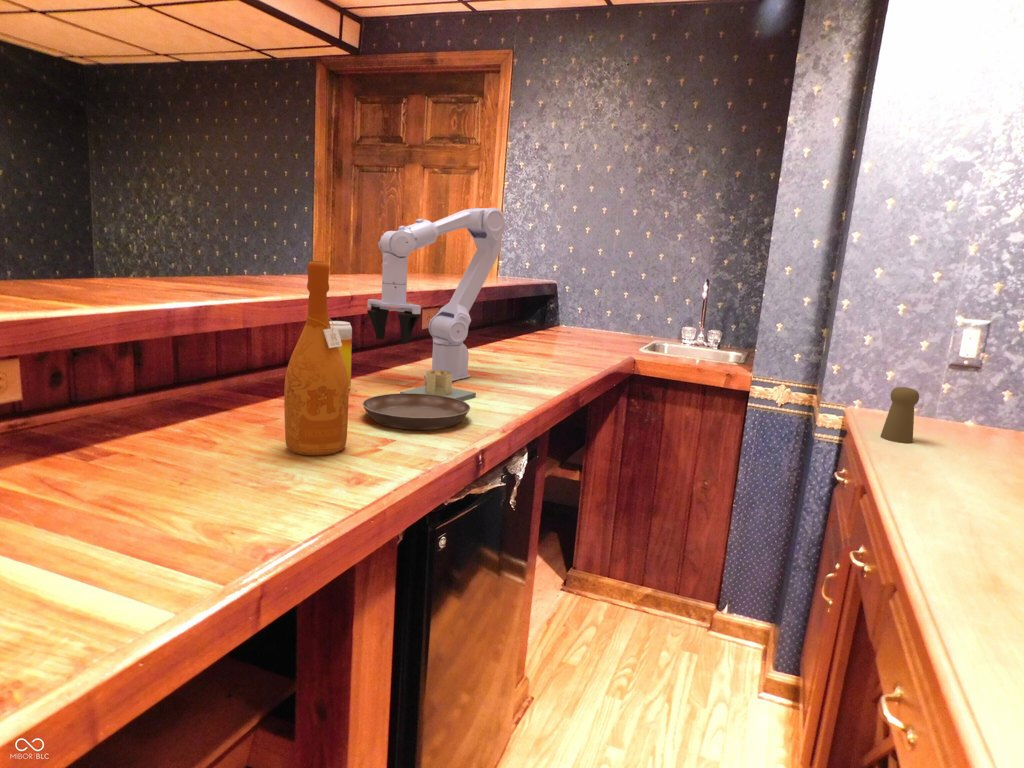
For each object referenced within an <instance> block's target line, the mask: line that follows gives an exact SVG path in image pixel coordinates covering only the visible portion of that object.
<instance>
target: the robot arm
mask: <svg viewBox="0 0 1024 768" xmlns="http://www.w3.org/2000/svg"><path fill="white" fill-rule="evenodd" d="M506 228H507V222H506V219H505V216H504V213H503V212H502V210H501V209H499V208H498V207H490V208H489V207H488V208H485V207H481V208H480V207H472V208H468V209H462V210H460V211H458V212H455V213H453V214H451V215H448V216H446V217H443V218H440V219H437V220H436V221H434V222H431V221H430V220H428V219H424V218H418V219H415V223H413V224H410V225H406V226H405V225H400V226H398V230H389V231H385V232H384V233H383V234H382V235H381V237H380V240H379V242H378V243H377V245H378V248H379V251H380V252H381V254H382V271H381V273H382V274H381V276H382V277H381V299H374V298H369V299H367V308H369V309H367V311H366V312H367V313H366V314H367V315H368V316H369V319H370V321H371V323H372V326H373V329H374V334H375V339H376V340H378V341H380V340H384V339H385V335H386V325H387V324H386V323H387V319H388V315H389V313H390V311H393V312H400V313H397V317H398V320H399V325H400V343H401V344H402V345H403V344H409V343H410V340H411V337H412V334H413V330H414V328H415V326H416V324H417V322H418V321H419V319H420V317H421V314H422V313H421V312H422V311H421V310H422V305H421V304H420V305H419V304H414V303H410V302H407V287H408V262H409V261H408V260H409V259H408V257H409V256H410V255H411V254H412V252H414V251H415V250H416V251H417V250H419V249H421V248H424V247H427V246H429V245H432V244H434V243H435V242H436V241H437V238H438V236H441V235H444V234H447V233H450V232H454V231H456V230H460V229H467V232H468V233H469V235H470V236H471V238H472V239H473V241H474V243H475V246H476V251H475V253H474V255H473V257H472V258H471V260H470V262H469V264H468V266H467V267H466V269H465V272H464V273H463V275H462V277H461V279H460V281H459V283H458V285H457V287H456V289H455V291H454V292H453V294H452V297H451V298H450V300H449V302H448V303H446V304H445V305H443V306H442V307H440V309H439V310H438V312H437V313H436V315H435V314H434V315H433V317H432V318H431V319H430V320H429V323H428V332H429V334H430V336H431V337H432V355H431V356H432V357H431V358H432V359H431V360H432V361H431V370H443V371H449V372H451V373H452V374H453V375H452V382H454V381H458V380H463V379H466V378H470V377H471V375H470V374H469V373H468V371H469V370H468V369H469V348H468V347H467V346H466V344H464V341H466V338H467V337H468V333H469V327H470V324H471V322H472V318H471V316H470V314H469V313H470V310H471V308H473V305H474V302H475V301H476V299H477V297H478V295H479V293H480V291H481V290H482V288H483V286H484V284H485V282H486V280H487V278H488V276H489V274H490V273H491V270H492V269H493V266H494V264H495V263H496V260H497V259H498V257H499V255H500V252H501V250H502V241H503V234H504V233H505V231H506ZM401 312H402V313H401ZM424 378H426V374H424Z"/></svg>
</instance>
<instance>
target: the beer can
mask: <svg viewBox="0 0 1024 768" xmlns="http://www.w3.org/2000/svg"><path fill="white" fill-rule="evenodd" d="M331 321H332V322H333V324H332V322H331ZM329 323H330V326H331V328H338V331H339V335H340V339H341V343H342V346H339V349H340V351H341V354H342V356H343V359H344V362H345V366H346V369H347V374H348V383H349V389H350V388H351V387H352V349H353V347H352V345H353V343H352V342H353V327H352V325H351V322H348V321H343V320H329Z"/></svg>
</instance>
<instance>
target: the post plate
mask: <svg viewBox="0 0 1024 768" xmlns="http://www.w3.org/2000/svg"><path fill="white" fill-rule="evenodd" d="M400 393H416V394H426V392H425V385H424V386H423V385H422V386H420V387H416V388H411V389H407V390H402V391H400ZM439 396H445V397H450V398H455V399H458V400H461V401H463V402H465V401H467V400H470V399H474V398H476V396H477V393H476V392H473V391H469V390H463V389H459V388H454V387H452V394H449V395H439Z"/></svg>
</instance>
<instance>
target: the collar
mask: <svg viewBox="0 0 1024 768" xmlns="http://www.w3.org/2000/svg"><path fill="white" fill-rule="evenodd" d="M425 375H426V377H425V380H424V382H425V383H424V386H425V392H426V394H431V395H449V394H452V388H453V381H452V375H453V374H452V373H451V372H449V371H443V370H432V369H431V370H430V369H429V370H428V371H427V370H426V371H425Z"/></svg>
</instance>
